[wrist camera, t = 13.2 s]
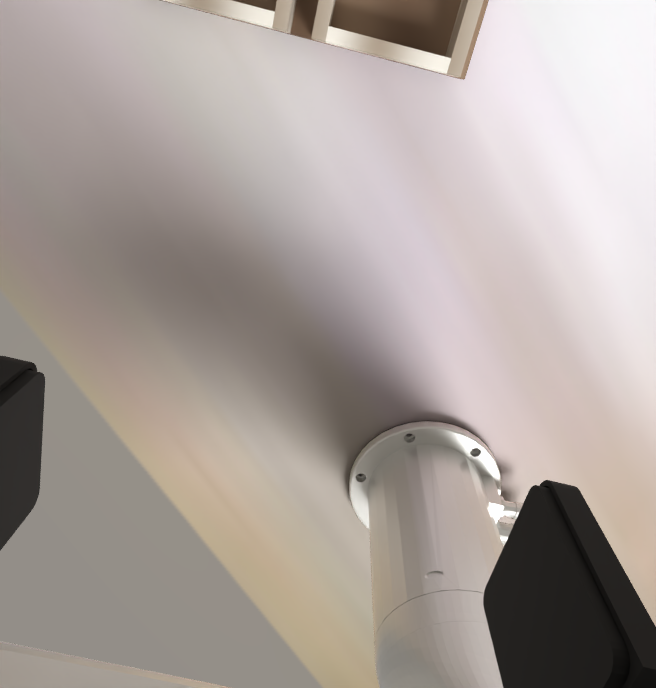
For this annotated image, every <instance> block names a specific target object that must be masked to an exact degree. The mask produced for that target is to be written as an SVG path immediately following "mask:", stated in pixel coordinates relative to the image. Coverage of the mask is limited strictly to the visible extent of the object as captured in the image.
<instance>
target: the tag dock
mask: <svg viewBox="0 0 656 688" xmlns="http://www.w3.org/2000/svg"><path fill="white" fill-rule="evenodd" d="M161 1H165V2H169V3H173V4H176V5H180V6H184V7H188V8H192V9H196V10H199V11H203V12H207V13H211V14H215V15H218V16H222V17H226V18H230V19H234V20H238V21H241V22H245V23H249V24H253V25H257V26H260V27H264V28H268V29H272V30H276V31H279V32H283V33H287V34H291V35H295V36H299V37H302V38H306V39H310V40H314V41H318V42H321V43H325V44H329V45H333V46H337V47H341V48H344V49H348V50H352V51H356V52H360V53H363V54H367V55H371V56H375V57H379V58H383V59H386V60H390V61H394V62H398V63H402V64H405V65H409V66H413V67H417V68H421V69H425V70H428V71H432V72H436V73H440V74H444V75H447V76H451V77H455V78H459V79H465V76H466V73H467V70H468V66H469V63H470V60H471V56H472V53H473V50H474V47H475V43H476V40H477V37H478V34H479V30H480V27H481V24H482V20H483V17H484V14H485V11H486V7H487V4H488V1H489V0H161Z"/></svg>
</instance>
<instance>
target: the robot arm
mask: <svg viewBox="0 0 656 688" xmlns="http://www.w3.org/2000/svg"><path fill="white" fill-rule="evenodd" d="M44 391H45V377H44V374H43V373H40V372H37V368H36V365H35V364H34V363H32V362H27V361H23V360H18V359H14V358H10V357H6V356H0V550H1V549H2V548H3V546H4V545H5V544H6V543H7V541H8V540H9V539H10V537H11V536H12V535H13V534H14V532H15V531H16V530H17V528H18V527H19V526H20V524H21V523H22V522H23V521H24V520H25V518H26V517H27V516H28V514H29V513H30V512H31V510H32V509H33V507H34V505H35V503H36V501H37V498H38V495H39V489H40V471H41V470H40V469H41V451H42V431H43V411H44V410H43V409H44ZM409 433H410V434H409ZM500 494H501V476H500V471H499V468H498V465H497V463H496V460H495V458H494V456H493V454H492V453H491V451H490V450H489V448H488V447H487V446H486V445H485V444H484V443H483V442H482V441H481V440H480V439H479V438H478V437H476V436H475V435H473V434H472V433H470V432H469V431H467V430H465V429H462V428H460V427H457V426H455V425H451V424H447V423H442V422H430V421H422V422H413V423H408V424H404V425H400V426H397V427H394V428H392V429H390V430H388V431H385V432H383V433H381V434H380V435H379V436H377V437H376V438H374V439H373V440H371V441H370V442H369V443H368V444H367V445H366V446H365V447H364V448H363V449H362V450H361V452H360V454H359V455H358V457H357V458H356V460H355V462H354V464H353V467H352V470H351V473H350V481H349V495H350V500H351V504H352V507H353V509H354V511H355V513H356V515H357V517H358V518H359V520H360V521H361V522H362V523H363V525H364V526H365V527H366V528H368V529H369V531H370V554H371V577H372V600H373V623H374V645H375V666H376V673H377V679H378V682H379V686H380V688H656V627H655V625H654V623H653V621H652V619H651V618H650V616H649V614H648V612H647V611H646V609H645V607H644V605H643V603H642V602H641V600H640V598H639V596H638V594H637V593H636V591H635V589H634V587H633V585H632V584H631V582H630V580H629V578H628V576H627V575H626V573H625V571H624V569H623V568H622V566H621V564H620V562H619V560H618V559H617V557H616V555H615V553H614V551H613V550H612V548H611V546H610V544H609V542H608V541H607V539H606V537H605V535H604V533H603V532H602V530H601V528H600V526H599V525H598V523H597V521H596V519H595V517H594V516H593V514H592V512H591V510H590V508H589V507H588V505H587V503H586V501H585V499H584V498H583V496H582V494H581V492H580V491H579V489H578V488H577V487H575V486H571V485H567V484H562V483H558V482H553V481H549V480H546V481H543V482H542V483H541V484H540V486H537V485H535V486H533V487H532V488H531V489H530V491H529V493H528V495H527V497H526V499H525V501H524V504H523V503H518V502H509V501H505V500H504V498H503V497H502V496H500ZM502 516H505V517H509V518H512V519H515V520H516V521H515V523H514V524H507V523H502V522H499V519H500V518H501V517H502ZM503 545H504V547H503ZM0 688H231V687H226V686H221V685H216V684H212V683H207V682H202V681H196V680H192V679H187V678H182V677H177V676H171V675H167V674H162V673H157V672H152V671H147V670H142V669H137V668H132V667H127V666H122V665H117V664H112V663H107V662H102V661H97V660H92V659H86V658H82V657H77V656H71V655H67V654H61V653H57V652H51V651H47V650H41V649H36V648H31V647H26V646H21V645H16V644H11V643H6V642H1V641H0Z"/></svg>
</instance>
